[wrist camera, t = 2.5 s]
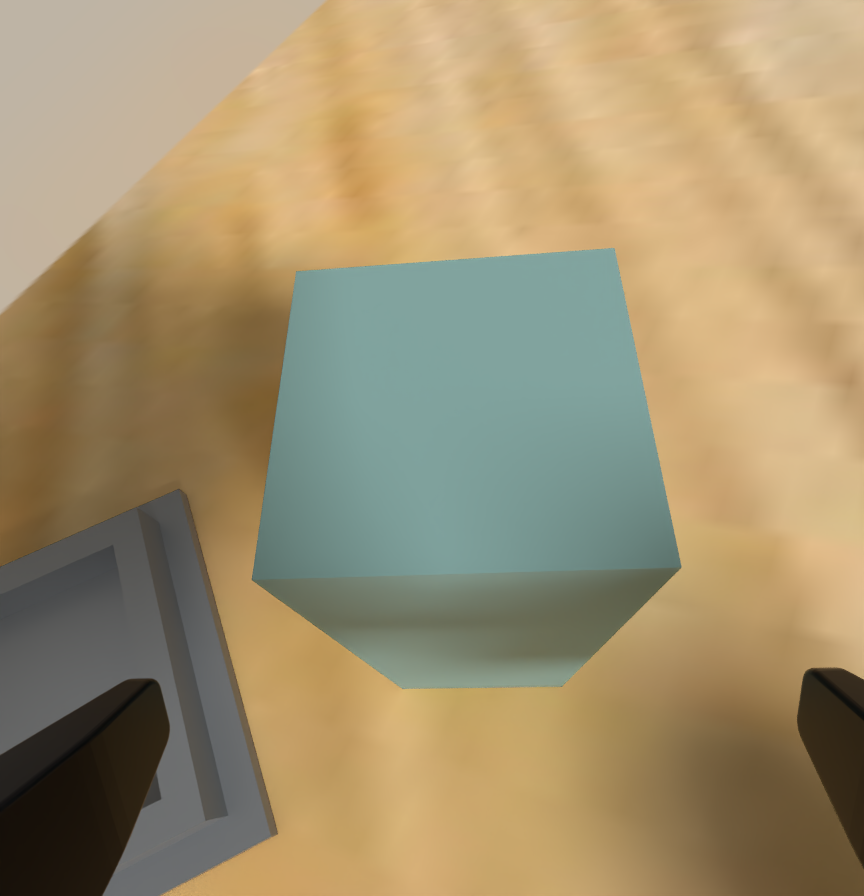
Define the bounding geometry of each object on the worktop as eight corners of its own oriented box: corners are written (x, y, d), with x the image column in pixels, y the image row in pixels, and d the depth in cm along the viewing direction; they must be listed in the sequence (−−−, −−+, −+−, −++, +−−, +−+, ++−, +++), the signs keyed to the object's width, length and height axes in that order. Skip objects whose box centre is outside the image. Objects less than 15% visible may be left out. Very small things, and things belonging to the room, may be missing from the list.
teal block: (561, 686, 18) (681, 567, 7) (402, 688, 18) (252, 579, 7) (546, 533, 20) (614, 248, 9) (405, 538, 21) (296, 271, 9)
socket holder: (277, 833, 17) (251, 843, 15) (-146, 1056, 15) (-233, 1097, 13) (186, 495, 22) (158, 471, 20) (-132, 634, 21) (-192, 623, 19)
